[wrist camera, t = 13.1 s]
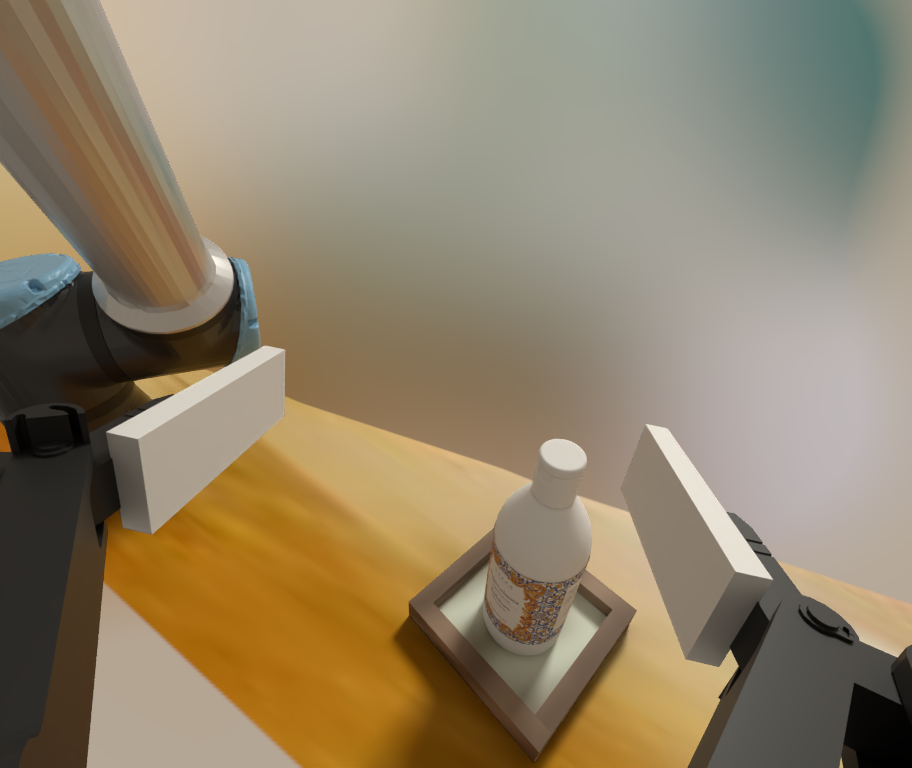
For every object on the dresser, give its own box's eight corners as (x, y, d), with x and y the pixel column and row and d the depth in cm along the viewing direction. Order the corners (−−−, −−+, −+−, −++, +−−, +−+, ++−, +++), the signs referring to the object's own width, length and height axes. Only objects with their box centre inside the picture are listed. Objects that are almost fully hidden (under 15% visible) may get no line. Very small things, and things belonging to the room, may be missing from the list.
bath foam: (466, 604, 39) (483, 442, 27) (523, 565, 42) (561, 405, 30) (517, 677, 34) (565, 520, 22) (577, 626, 37) (646, 466, 26)
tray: (409, 614, 38) (408, 601, 37) (510, 525, 47) (512, 511, 45) (534, 762, 30) (538, 752, 29) (629, 623, 39) (636, 610, 37)
